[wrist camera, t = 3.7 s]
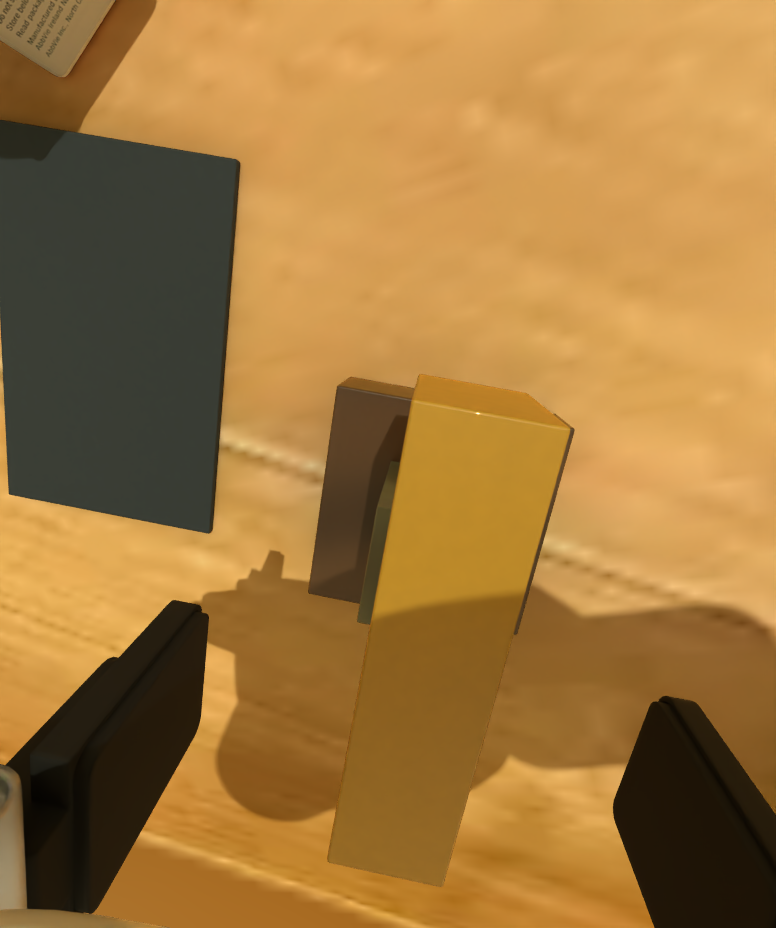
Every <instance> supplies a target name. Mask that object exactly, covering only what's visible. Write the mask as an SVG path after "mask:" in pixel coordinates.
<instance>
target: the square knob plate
mask: <svg viewBox="0 0 776 928" xmlns="http://www.w3.org/2000/svg"><path fill="white" fill-rule="evenodd" d="M414 390H415V389H414V388H409V387H403V386H398V385H392V384H387V383H382V382H376V381H371V380H365V379H360V378H354V377H350V378H348V379H347V380H345V381H344V382H342V383H341V384H339V385H338V386H337V390H336V397H335V404H334V412H333V419H332V426H331V433H330V440H329V447H328V454H327V461H326V469H325V476H324V483H323V490H322V497H321V504H320V511H319V518H318V526H317V533H316V540H315V547H314V554H313V561H312V568H311V575H310V582H309V590H308V592H309V594H314V595H319V596H324V597H329V598H334V599H339V600H344V601H349V602H354V603H359V604H360V607H359V612H358V618H357V622H359V623H364V624H369V625H370V623H371V617H372V612H373V607H374V601H375V596H376V590H377V585H378V579H379V574H380V568H381V563H382V558H383V552H384V547H385V541H386V536H387V530H388V525H389V520H390V514H391V509H392V503H393V498H394V492H395V487H396V482H397V476H398V471H399V465H400V460H401V454H402V449H403V444H404V438H405V433H406V427H407V422H408V416H409V411H410V405H411V401H412V397H413V394H414ZM553 415H554V416H556V417H557V418H558V419H559V420H561V421H562V422H563V423H564V424H566V425H567V426H568V427H569V428H570V434H569V438H568V441H567V445H566V448H565V452H564V455H563V459H562V463H561V466H560V470H559V473H558V477H557V481H556V484H555V488H554V491H553V495H552V498H551V502H550V506H549V509H548V513H547V516H546V520H545V523H544V527H543V531H542V534H541V538H540V541H539V545H538V548H537V552H536V556H535V559H534V563H533V566H532V570H531V573H530V577H529V581H528V584H527V588H526V591H525V595H524V598H523V602H522V606H521V609H520V613H519V616H518V620H517V623H516V627H515V631H514V635H516V634H517V633H518V629H519V626H520V622H521V619H522V615H523V611H524V608H525V604H526V601H527V597H528V594H529V590H530V587H531V583H532V580H533V576H534V573H535V569H536V565H537V562H538V558H539V555H540V551H541V548H542V544H543V541H544V537H545V534H546V530H547V526H548V523H549V519H550V516H551V512H552V509H553V505H554V502H555V498H556V495H557V491H558V487H559V484H560V480H561V477H562V473H563V470H564V466H565V463H566V459H567V456H568V452H569V448H570V445H571V441H572V438H573V434H574V428H572V427H571V426H570V425H569V424H567V423H566V422H565V421H564V420H562V419H561V418H560V417H559V416H557V415H556V414H553Z"/></svg>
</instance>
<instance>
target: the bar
mask: <svg viewBox="0 0 776 928" xmlns="http://www.w3.org/2000/svg"><path fill="white" fill-rule="evenodd" d="M569 434H570V428H569V427H568V426H567V425H566V424H564V423H563V422H562V421H561V420H559V419H558V418H557V417H556V416H554V415H553V414H552V413H551V412H550V411H548V410H547V409H546V408H545V407H543V406H542V405H541V404H540V403H538V402H537V401H536V400H535V399H534V398H532V397H531V396H530V395H529V394H527V393H522V392H517V391H511V390H506V389H500V388H495V387H489V386H484V385H478V384H473V383H467V382H462V381H456V380H451V379H445V378H440V377H434V376H429V375H423V374H420V375H419V376H418V379H417V383H416V387H415V390H414V394H413V397H412V401H411V405H410V411H409V416H408V422H407V427H406V433H405V438H404V444H403V449H402V454H401V460H400V465H399V471H398V476H397V482H396V487H395V492H394V498H393V503H392V509H391V514H390V520H389V525H388V530H387V536H386V541H385V547H384V552H383V558H382V563H381V568H380V574H379V579H378V585H377V590H376V596H375V601H374V607H373V612H372V617H371V623H370V628H369V634H368V639H367V645H366V650H365V655H364V661H363V666H362V672H361V677H360V683H359V688H358V693H357V699H356V704H355V710H354V715H353V721H352V726H351V731H350V737H349V742H348V748H347V753H346V759H345V764H344V769H343V775H342V780H341V786H340V791H339V797H338V802H337V808H336V813H335V818H334V824H333V829H332V835H331V840H330V846H329V851H328V856H327V860H328V862H329V863H333V864H338V865H342V866H347V867H351V868H356V869H360V870H365V871H370V872H374V873H379V874H383V875H388V876H392V877H397V878H402V879H406V880H411V881H415V882H420V883H424V884H429V885H433V886H438V887H442V886H443V884H444V881H445V877H446V874H447V870H448V866H449V863H450V859H451V856H452V852H453V849H454V845H455V841H456V838H457V834H458V831H459V827H460V824H461V820H462V816H463V813H464V809H465V806H466V802H467V799H468V795H469V791H470V788H471V784H472V781H473V777H474V774H475V770H476V766H477V763H478V759H479V756H480V752H481V749H482V745H483V741H484V738H485V734H486V731H487V727H488V724H489V720H490V716H491V713H492V709H493V706H494V702H495V698H496V695H497V691H498V688H499V684H500V681H501V677H502V673H503V670H504V666H505V663H506V659H507V656H508V652H509V648H510V645H511V641H512V638H513V634H514V631H515V627H516V623H517V620H518V616H519V613H520V609H521V606H522V602H523V598H524V595H525V591H526V588H527V584H528V581H529V577H530V573H531V570H532V566H533V563H534V559H535V556H536V552H537V548H538V545H539V541H540V538H541V534H542V531H543V527H544V523H545V520H546V516H547V513H548V509H549V506H550V502H551V498H552V495H553V491H554V488H555V484H556V481H557V477H558V473H559V470H560V466H561V463H562V459H563V455H564V452H565V448H566V445H567V441H568V438H569Z"/></svg>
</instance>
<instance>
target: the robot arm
mask: <svg viewBox="0 0 776 928" xmlns="http://www.w3.org/2000/svg"><path fill="white" fill-rule="evenodd" d="M208 623H209V616H208V614H206V613H202V609H201V606H200V605H197V604H192V603H187V602H182V601H177V600H173V601H171V602H170V603H169V604H168V605H167V606H166V607H165V608H164V609H163V610H162V611H161V613H160V614H159V615H158V616H157V617H156V618H155V619H154V620H153V621H152V622H151V623H150V624H149V626H148V627H147V628H146V629H145V630H144V631H143V632H142V633H141V634H140V635H139V636H138V637H137V639H136V640H135V641H134V642H133V643H132V644H131V645H130V646H129V647H128V648H127V649H126V650H125V652H124V653H123V654H122V655H121V656H120V657H119V658H117V657H112V658H109V659H107V660H106V661H105V662H104V663H102V664H101V665H100V667H99V668H98V669H97V670H96V671H95V672H94V673H93V674H92V675H91V676H90V677H89V678H88V679H87V680H86V681H85V682H84V683H83V684H82V685H81V686H80V687H79V689H78V690H77V691H76V692H75V693H74V694H73V695H72V696H71V697H70V698H69V699H68V700H67V701H66V702H65V703H64V704H63V705H62V706H61V707H60V708H59V709H58V711H57V712H56V713H55V714H54V715H53V716H52V717H51V718H50V719H49V720H48V721H47V722H46V723H45V724H44V725H43V726H42V727H41V728H40V729H39V730H38V732H37V733H36V734H35V735H34V736H33V737H32V738H31V739H30V740H29V741H28V742H27V743H26V744H25V745H24V746H23V747H22V748H21V749H20V750H19V751H18V752H17V754H16V755H15V756H14V757H13V758H12V759H11V760H10V761H9V762H8V763H7V764H6V765H1V764H0V928H168V927H163V926H157V925H152V924H146V923H141V922H136V921H130V920H125V919H119V918H114V917H108V916H101V915H92V913H93V912H94V911H95V910H96V909H97V908H98V906H99V904H100V903H101V901H102V899H103V898H104V896H105V894H106V892H107V891H108V889H109V887H110V885H111V883H112V882H113V880H114V878H115V876H116V875H117V873H118V871H119V869H120V868H121V866H122V864H123V862H124V861H125V859H126V857H127V855H128V853H129V852H130V850H131V848H132V846H133V845H134V843H135V841H136V839H137V837H138V836H139V834H140V832H141V830H142V829H143V827H144V825H145V823H146V822H147V820H148V818H149V816H150V814H151V813H152V811H153V809H154V807H155V806H156V804H157V802H158V800H159V798H160V797H161V795H162V793H163V791H164V790H165V788H166V786H167V784H168V783H169V781H170V779H171V777H172V775H173V774H174V772H175V770H176V768H177V767H178V765H179V763H180V761H181V759H182V758H183V756H184V754H185V752H186V751H187V749H188V747H189V745H190V744H191V742H192V740H193V738H194V736H195V734H196V732H197V729H198V726H199V723H200V718H201V709H202V696H203V684H204V672H205V660H206V647H207V635H208ZM613 814H614V820H615V823H616V826H617V828H618V831H619V834H620V836H621V839H622V842H623V844H624V847H625V850H626V852H627V855H628V858H629V860H630V863H631V866H632V868H633V871H634V874H635V877H636V879H637V882H638V885H639V887H640V890H641V893H642V895H643V898H644V901H645V903H646V906H647V909H648V911H649V914H650V917H651V919H652V922H653V925H654V927H655V928H776V814H775V813H774V812H773V810H772V809H771V807H770V806H769V804H768V803H767V802H766V800H765V799H764V797H763V796H762V795H761V793H760V792H759V790H758V789H757V787H756V786H755V785H754V783H753V782H752V780H751V779H750V778H749V776H748V775H747V773H746V772H745V770H744V769H743V768H742V766H741V765H740V763H739V762H738V761H737V759H736V758H735V756H734V755H733V753H732V752H731V751H730V749H729V748H728V746H727V745H726V743H725V742H724V741H723V739H722V738H721V736H720V735H719V734H718V732H717V731H716V729H715V728H714V726H713V725H712V724H711V722H710V721H709V719H708V718H707V717H706V715H705V714H704V712H703V711H702V709H701V708H700V707H699V706H698V705H697V703H695V702H693V701H690V700H684V699H679V698H674V697H669V696H663V697H661V698H660V699H659V701H658V702H653V703H651V705H650V707H649V709H648V712H647V715H646V717H645V720H644V722H643V725H642V728H641V730H640V733H639V736H638V738H637V741H636V743H635V746H634V749H633V751H632V754H631V757H630V759H629V762H628V765H627V767H626V770H625V772H624V775H623V778H622V780H621V783H620V786H619V788H618V791H617V793H616V796H615V799H614V803H613ZM84 912H85V913H89V914H85V913H84Z"/></svg>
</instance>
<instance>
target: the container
mask: <svg viewBox="0 0 776 928" xmlns="http://www.w3.org/2000/svg"><path fill="white" fill-rule="evenodd" d="M114 2H115V0H0V41H2V42H4V43H5V44H7V45H8V46H10V47H11V48H13V49H14V50H16V51H18V52H19V53H21V54H22V55H24V56H25V57H27V58H29V59H30V60H32V61H33V62H35V63H36V64H38V65H40V66H41V67H43V68H44V69H46V70H47V71H49V72H50V73H52V74H54V75H55V76H57V77H66V76H67V75H68V74H69V73H70V71H71V70H72V68H73V67H74V65H75V63H76V62H77V60H78V59H79V57H80V55H81V54H82V52H83V51H84V49H85V48H86V46H87V44H88V43H89V41H90V40H91V38H92V36H93V35H94V33H95V32H96V30H97V29H98V27H99V25H100V24H101V22H102V21H103V19H104V18H105V16H106V14H107V13H108V11H109V10H110V8H111V6H112V5H113V3H114Z"/></svg>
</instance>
